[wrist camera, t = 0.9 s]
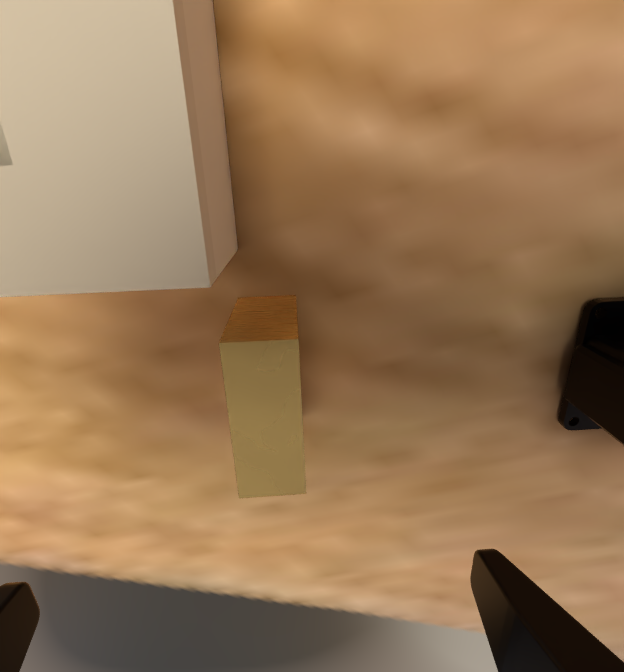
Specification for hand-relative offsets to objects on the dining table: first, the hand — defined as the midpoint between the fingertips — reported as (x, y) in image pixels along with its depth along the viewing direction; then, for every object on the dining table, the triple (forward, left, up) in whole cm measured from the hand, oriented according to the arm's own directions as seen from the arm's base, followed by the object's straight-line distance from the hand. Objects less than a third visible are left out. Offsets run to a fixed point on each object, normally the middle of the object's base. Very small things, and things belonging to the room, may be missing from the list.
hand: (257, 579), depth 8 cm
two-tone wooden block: (0, 0, -10) cm, 10 cm away
